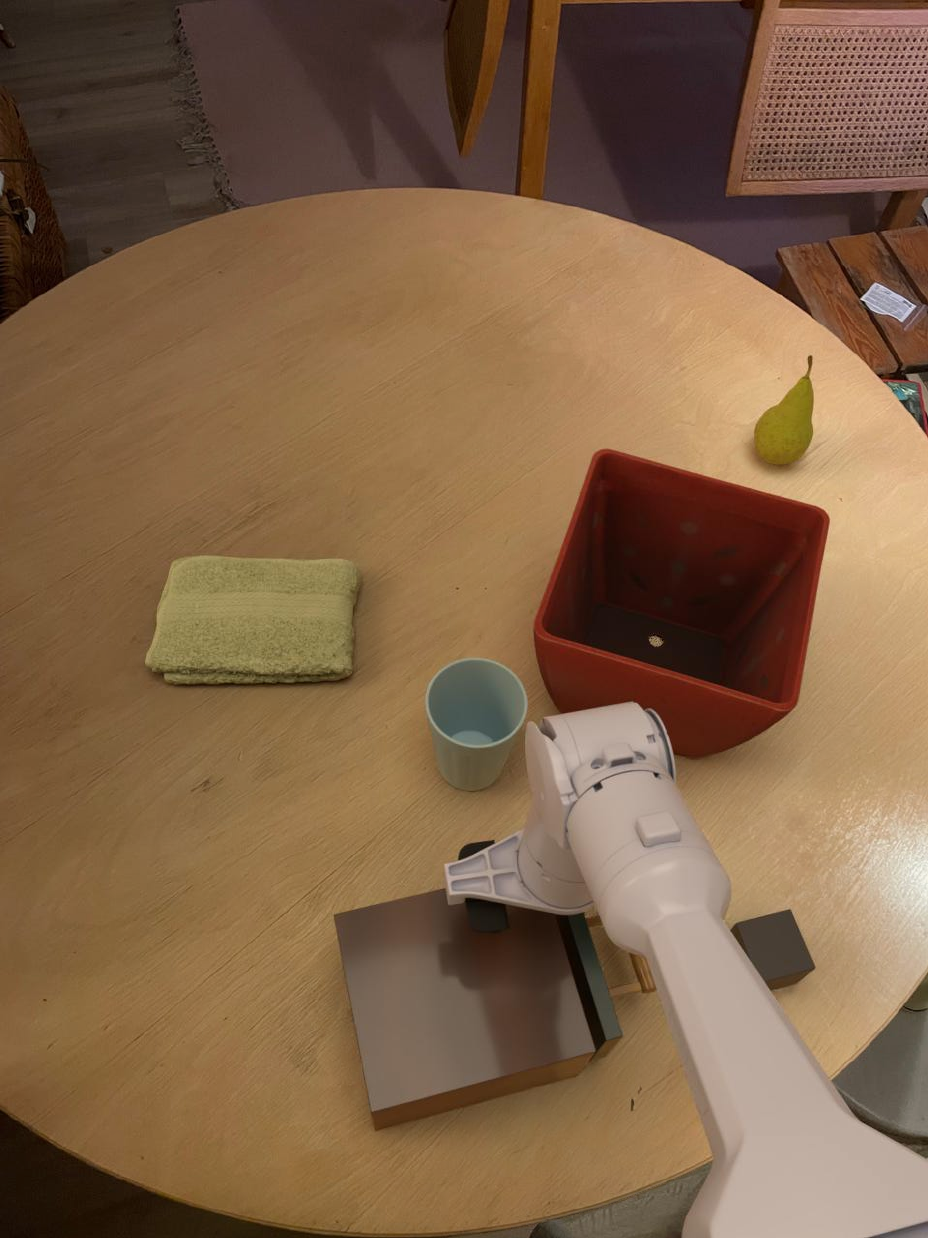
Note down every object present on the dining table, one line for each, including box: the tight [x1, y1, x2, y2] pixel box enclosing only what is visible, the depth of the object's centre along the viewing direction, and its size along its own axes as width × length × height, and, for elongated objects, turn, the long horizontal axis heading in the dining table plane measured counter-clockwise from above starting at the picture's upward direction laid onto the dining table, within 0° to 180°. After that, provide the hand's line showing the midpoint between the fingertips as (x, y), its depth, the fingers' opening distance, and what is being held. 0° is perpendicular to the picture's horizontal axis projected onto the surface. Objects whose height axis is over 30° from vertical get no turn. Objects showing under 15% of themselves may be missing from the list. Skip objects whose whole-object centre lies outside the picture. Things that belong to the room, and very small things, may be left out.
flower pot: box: [532, 448, 831, 759], centre depth 84 cm, size 19×19×17 cm
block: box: [729, 908, 817, 992], centre depth 76 cm, size 4×4×4 cm
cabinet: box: [333, 887, 596, 1132], centre depth 72 cm, size 15×13×9 cm
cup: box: [424, 657, 529, 792], centre depth 82 cm, size 8×8×10 cm
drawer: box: [555, 912, 657, 1061], centre depth 72 cm, size 18×11×7 cm, turn 104°
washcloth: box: [144, 554, 362, 686], centre depth 91 cm, size 13×18×3 cm
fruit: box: [753, 354, 815, 466], centre depth 101 cm, size 6×6×12 cm
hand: (547, 909), depth 70 cm, fingers open, 7 cm apart
